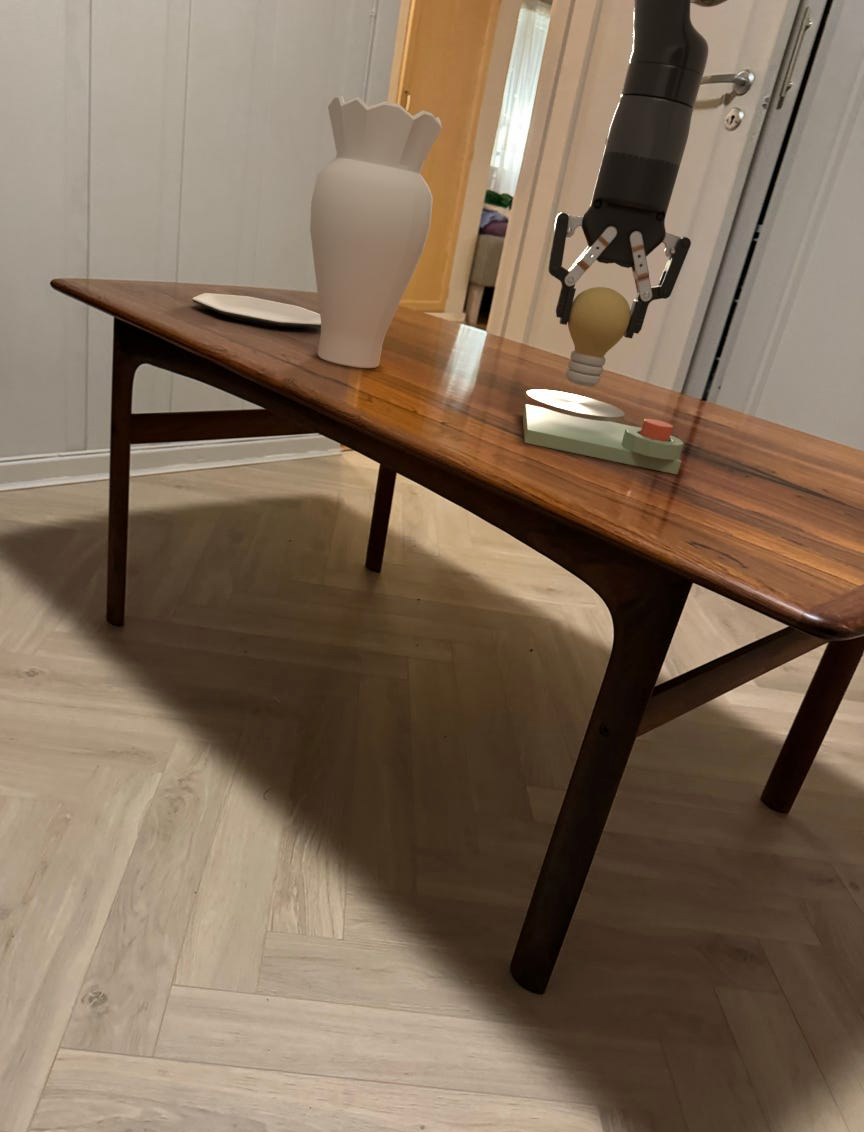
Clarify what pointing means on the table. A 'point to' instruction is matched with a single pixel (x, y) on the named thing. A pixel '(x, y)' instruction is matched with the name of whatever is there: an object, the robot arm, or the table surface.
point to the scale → (600, 440)
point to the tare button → (656, 429)
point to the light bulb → (595, 332)
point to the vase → (369, 224)
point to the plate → (259, 310)
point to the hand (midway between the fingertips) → (595, 330)
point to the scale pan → (575, 405)
